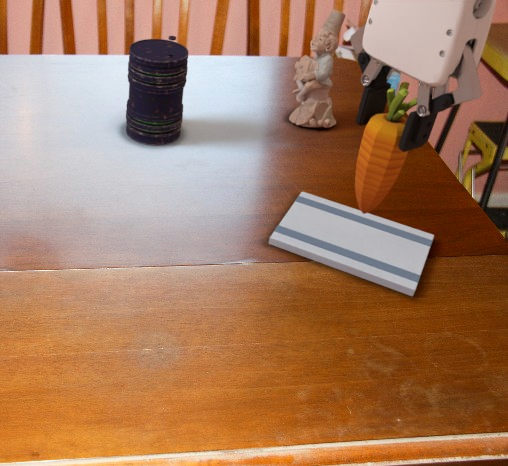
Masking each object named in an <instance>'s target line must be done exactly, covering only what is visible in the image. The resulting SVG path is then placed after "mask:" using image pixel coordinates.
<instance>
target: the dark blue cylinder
mask: <svg viewBox="0 0 508 466" xmlns="http://www.w3.org/2000/svg"><path fill="white" fill-rule="evenodd" d="M176 40H177V36H175V35H169V36H168V39H161V38H147V39H140V40H137V41H134V42H133V43H131V44H130V46H129V48H128V49H129V51H128V54H129V56H128V63H127V66H128V67H127V72H128V73H127V81H128V84H129V85H128V99H127V100H126V110H125V122H126V123H125V124H126V126H125V133H126V135H127V137H128V138H129V139H131V140H133V141H134V142H135V143H139V144H142V145H147V146H166V145H169V144H172V143H175V142H177V140H179V138H180V137H181V134H182V133H181V128H182V123H183V118H184V114H183V113H184V104H183V99H184V88H185V86H186V83H187V75H188V70H189V69H188V59H189V49H188V48H187V47H186V46H184V45H183V44H181V43H179V42H177V41H176Z"/></svg>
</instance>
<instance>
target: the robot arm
mask: <svg viewBox="0 0 508 466" xmlns="http://www.w3.org/2000/svg"><path fill="white" fill-rule="evenodd" d="M497 1H498V0H372V3H371V5H370V9H369V12H368V16H367V18H366V23H364V24H363V25H362V26H361V27H359V28H358V29H357V30H356V31H355V32H354V33H352V34H351V36H350V37H349V41H350V44H351V46H352V48H353V50H354V52H355V55H356V56H357V63H358V66H359V68H360V71H361V74H362V75H361V77H360V82H361V84H362V86H363V87H364V88H363V92H362V96H361V98H360V101H359V106H358V110H357V111H358V112H357V115H356V119H355V124H356V125H358V126H360V127H361V126H366V125H367V123H368V122H369V120H370V118H371V117H372V116H373V115H375V114H381V113H385V109H386V106H387V104H388V101H387V91H388V90H389V89H390V88H392V83H390V82H388V81H389V79H390V78H391V76H392V75H393V73H394V72H395V71H398V72H400V73H402V74H403V75H406V76H408V77H410V78H412V79H414V80H416V81H418V84H417V85H418V86H417V97H416V98H417V105H416V110H413V111H411V112H409V114H408V115H407V117H406V119H407V121H406V124H405V127H404V130H403V133H402V136H401V139H400V142H399V145H398V147H399V149H400V150H401V151H403V152H406V151H408V152H409V151H412V150H415V149H419V148H422V147H423V146H424V145H425V144H426V143H428V141H429V139H430V136H431V135H432V132H433V128H434V126H435V123H436V121H437V118H438V114H439V113H442V112H445V111H446V110H448V109H450V108H453V107H455V106H458V105H460V104H464V103H468V102H471V101H474V100H478V99H480V98H481V97H482V96H483V88H482V85H481V80H480V77H479V73H478V66H479V63H480V61H481V58H482V54H483V52H484V49H485V46H486V43H487V39H488V35H489V34H490V33H489V32H490V29H491V25H492V21H493V19H494V14H495V10H496V6H497ZM451 78H452V79H455V80H456V82H457V88H456V89H455V90H453V91H450V92H449V90H450V80H451Z"/></svg>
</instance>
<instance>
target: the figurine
mask: <svg viewBox="0 0 508 466" xmlns="http://www.w3.org/2000/svg"><path fill="white" fill-rule="evenodd" d="M345 18H346V14H345V13H344V12H343V11H339V10H337V9H331V11H330V13H329V14H328V16H327V18H326V20H325V22H324V24H323V25H322V26H321V28H320V29H319V30H318V31H317V33H316V35H315V38H313V39H312V40H310V48H309V49H310V51H311V52H314V53H315V55H314V56H313V57H310V56H308V55H307V54H305V55H303V56H302V57H301V58H300V59H299V60H297V61H296V62H295V64H294V70H295V75H294V76H293V82H294V83H296V85H297V88H296V89H294V90H293V91H291V94H293V95H295V97H296V98H295V101H296V102H297V103H299V104H300V105H299V106H297V108H295V109H294V111H292V112H291V114H290V115H289V118H288V120H289V121H290V122H291V123H292V124H295V125H296V126H301V127H306V128H331V127H334V126H335V125H336V124H337V120H336V118H335V117H334V115H333V101H332V98H331V97H330V96H329V94H330V89H331V88H333V85H334V84H333V82H332V79H331V78H330V77H331V76H332V74H333V66H334V58H333V56H332V54H334V53H335V52H336V50H338V48H339V34H340V31H341V29H342V26H343V24H344V22H345Z"/></svg>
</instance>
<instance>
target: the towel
mask: <svg viewBox="0 0 508 466" xmlns="http://www.w3.org/2000/svg"><path fill="white" fill-rule="evenodd" d="M434 238H435V234H432V233H430V232H426V231H424V230H421V229H418V228H413V227H411V226H408V225H405V224H402V223H399V222H396V221H393V220H390V219H387V218H384V217H381V216H378V215H375V214H372V213H370V212H369V213H366V214H363V213H362V212H361V210H360V209H357V208H354V207H351V206H348V205H346V204H345V205H344V204H341V203H339V202H336V201H333V200H329V199H327V198H324V197H321V196H318V195H314V194H312V193H309V192H306V191H301V192H300V194H299V195H297V197H296V199H295V200H294V202H293V203H292V205H291V206H290V208H289V209H288V211H287V212H286V213H285V215H284V216H283V217H282V220H281V221H280V222H279V223H278V224H277V226H276V227H275V229H274V230H273V232H272V234H271V235H270V236H269V240H268V245H271V246H273V247H276V248H278V249H282V250H284V251H287V252H290V253H293V254H296V255H298V256H301V257H304V258H306V259H309V260H311V261H314V262H317V263H320V264H322V265H325V266H328V267H331V268H333V269H336V270H339V271H341V272H344V273H346V274H349V275H352V276H356V277H357V278H361V279H363V280H365V281H369V282H372V283H374V284H376V285H380V286H381V287H382V286H383V287H385V288H387V289H390V290H393V291H396V292H398V293H402V294H404V295H407V296H409V297H414V295H415V292H416V290H417V287H418V284H419V281H420V279H421V275H422V273H423V270H424V267H425V264H426V261H427V259H428V255H429V252H430V249H431V246H432V244H433V241H434Z"/></svg>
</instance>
